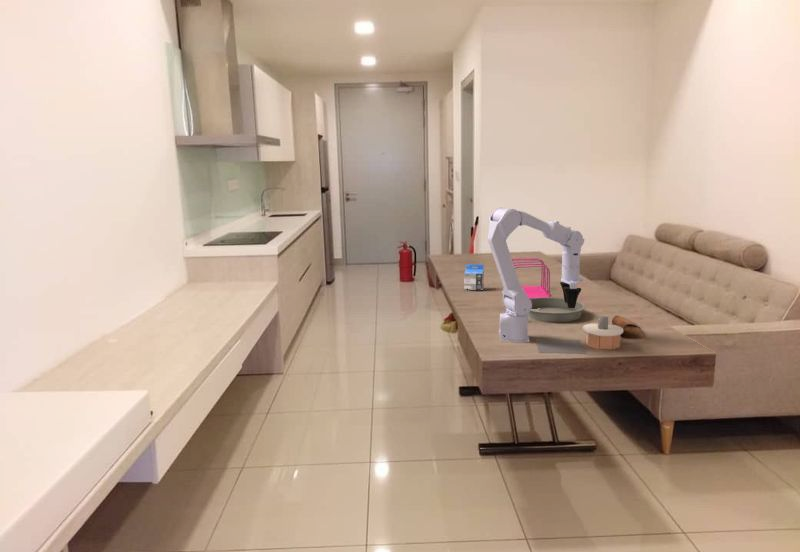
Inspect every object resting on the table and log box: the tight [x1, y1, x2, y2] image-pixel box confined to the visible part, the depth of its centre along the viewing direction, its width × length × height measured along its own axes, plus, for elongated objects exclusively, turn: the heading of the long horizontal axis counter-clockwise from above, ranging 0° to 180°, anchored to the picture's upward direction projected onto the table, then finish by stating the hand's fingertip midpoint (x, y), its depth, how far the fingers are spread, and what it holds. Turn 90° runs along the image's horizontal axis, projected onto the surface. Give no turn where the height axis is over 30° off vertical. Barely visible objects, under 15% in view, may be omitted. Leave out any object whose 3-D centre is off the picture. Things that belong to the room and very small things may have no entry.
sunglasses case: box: [611, 315, 646, 340], centre depth 191 cm, size 18×7×7 cm
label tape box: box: [463, 263, 485, 291], centre depth 263 cm, size 9×4×12 cm, turn 71°
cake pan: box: [528, 296, 587, 323], centre depth 215 cm, size 25×25×4 cm
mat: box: [534, 338, 587, 355], centre depth 176 cm, size 14×14×1 cm
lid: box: [582, 315, 623, 336], centre depth 175 cm, size 12×12×4 cm
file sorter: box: [512, 257, 552, 299], centre depth 249 cm, size 17×25×16 cm
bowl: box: [585, 332, 621, 350], centre depth 176 cm, size 10×10×5 cm
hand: (569, 305), depth 189 cm, fingers open, 7 cm apart
